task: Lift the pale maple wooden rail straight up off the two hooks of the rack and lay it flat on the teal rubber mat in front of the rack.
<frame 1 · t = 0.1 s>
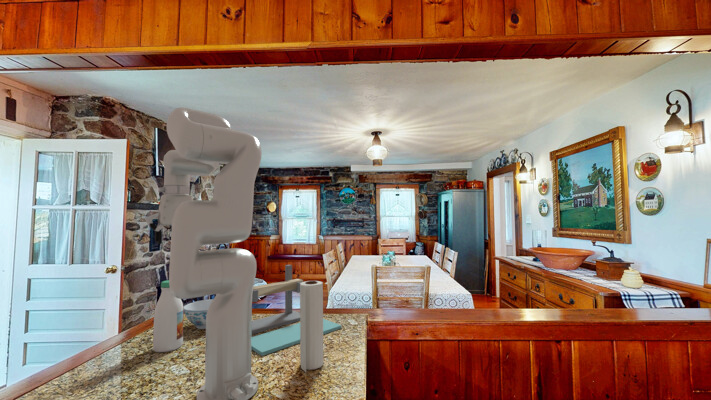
hand: (175, 242, 101), 31 cm above the kitchen counter, tool pointing down, fingers open, 9 cm apart
milk bottle: (168, 348, 92), on the kitchen counter
mat: (294, 335, 100), on the kitchen counter
rail: (273, 292, 113), point 11 cm above the kitchen counter, touching rack
chinaware: (206, 326, 111), on the kitchen counter
rack: (272, 323, 112), on the kitchen counter
paper towel roll: (310, 366, 79), on the kitchen counter
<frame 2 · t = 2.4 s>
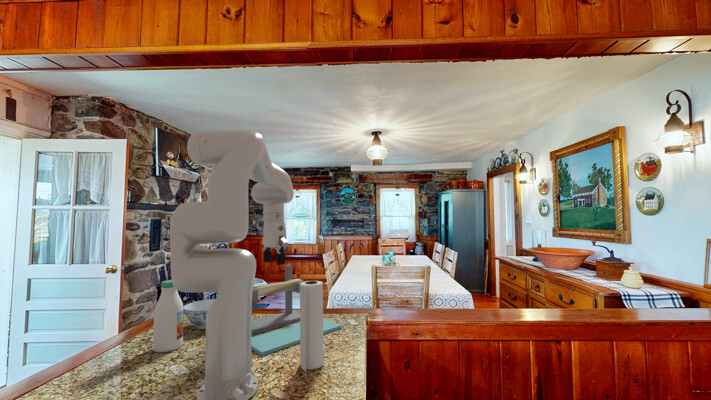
hand: (273, 263, 114), 22 cm above the kitchen counter, tool pointing down, fingers open, 9 cm apart
nothing on the kitchen counter moved.
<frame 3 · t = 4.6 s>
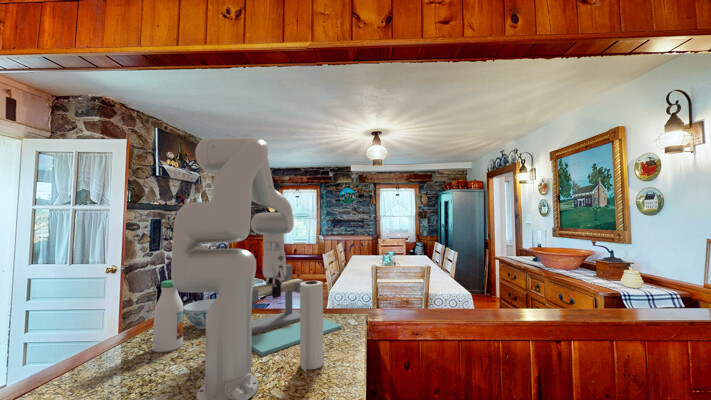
hand: (273, 295, 112), 10 cm above the kitchen counter, tool pointing down, fingers closed on rail, 3 cm apart
rail: (273, 292, 113), point 11 cm above the kitchen counter, touching gripper, rack
everything else where it was.
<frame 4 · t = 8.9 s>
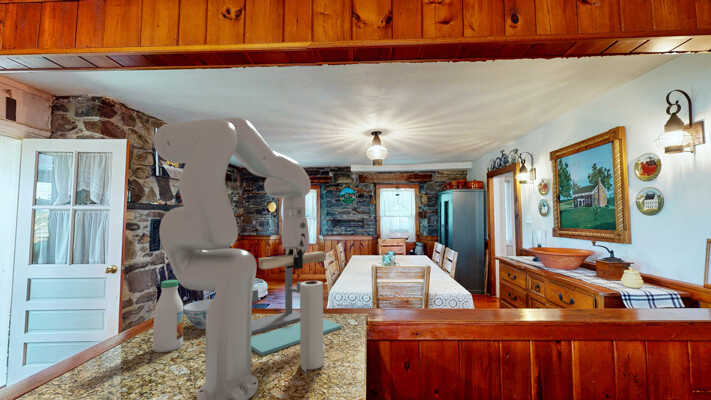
hand: (294, 267, 102), 22 cm above the kitchen counter, tool pointing down, fingers closed on rail, 3 cm apart
rail: (294, 264, 102), point 23 cm above the kitchen counter, touching gripper
everything else where it was.
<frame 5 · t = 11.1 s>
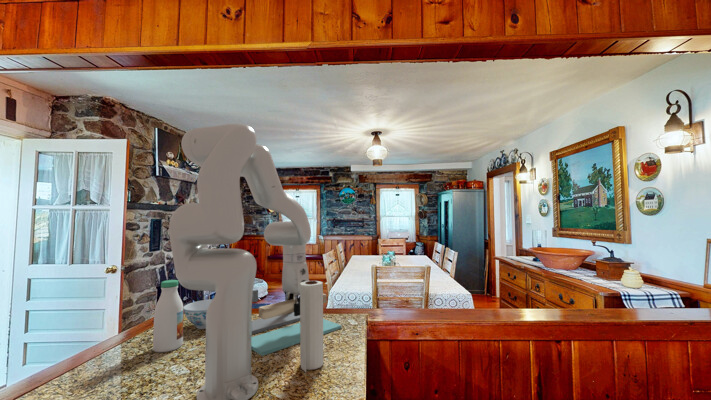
hand: (294, 313, 101), 7 cm above the kitchen counter, tool pointing down, fingers closed on rail, 3 cm apart
rail: (295, 309, 101), point 8 cm above the kitchen counter, touching gripper
everything else where it was.
when the fingers open (1 cm above the kitchen counter, at t = 13.1 s): rail drops 2 cm, resting on mat.
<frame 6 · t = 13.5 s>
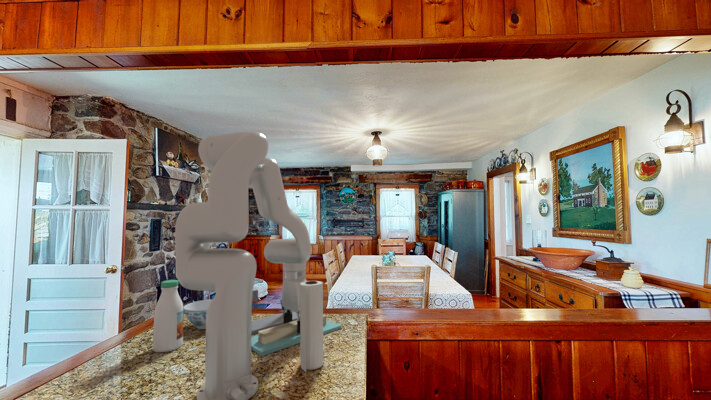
hand: (294, 328, 100), 2 cm above the kitchen counter, tool pointing down, fingers open, 7 cm apart
rail: (294, 332, 100), point 1 cm above the kitchen counter, touching mat
everything else where it was.
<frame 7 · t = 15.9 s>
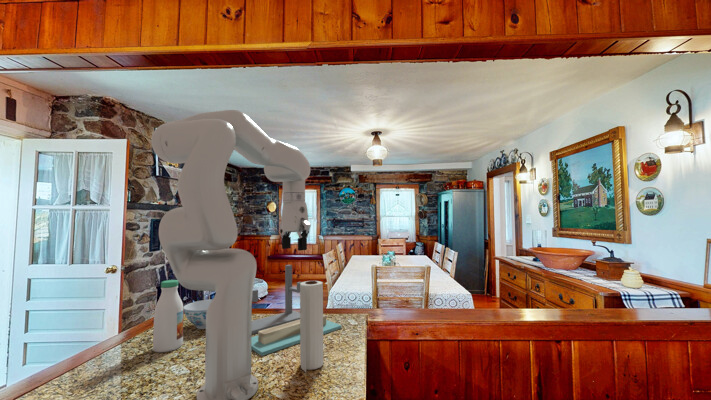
hand: (294, 249, 102), 28 cm above the kitchen counter, tool pointing down, fingers open, 9 cm apart
nothing on the kitchen counter moved.
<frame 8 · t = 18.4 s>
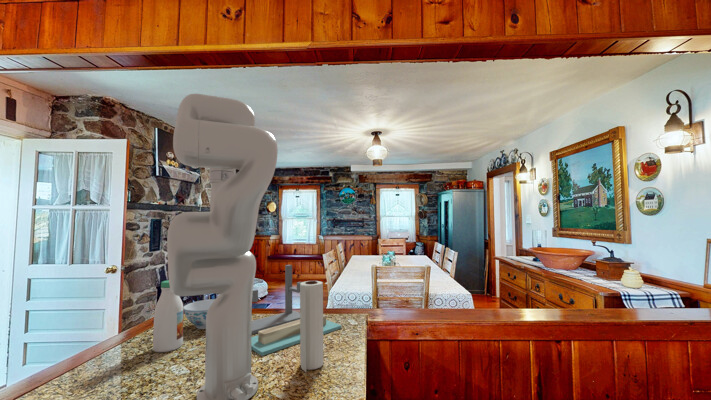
hand: (221, 233, 93), 34 cm above the kitchen counter, tool pointing down, fingers open, 9 cm apart
nothing on the kitchen counter moved.
at the end: rail inside the target area on the mat (0.0 cm from its centre), point 1.0 cm above the mat's base; rail touching mat; the gripper is holding nothing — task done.
